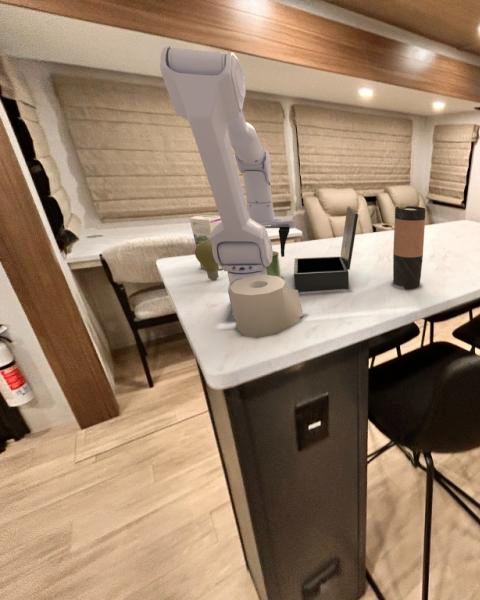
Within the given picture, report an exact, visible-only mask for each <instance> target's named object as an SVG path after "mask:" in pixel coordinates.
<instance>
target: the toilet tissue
mask: <svg viewBox="0 0 480 600" xmlns="http://www.w3.org/2000/svg"><path fill="white" fill-rule="evenodd" d="M228 287H229V286H228ZM229 290H230V295H231V300H232V305H233V310H234V315H235V317H234V321H235V325H236V330H238V332H239V333H240V334H241V335H242V336H248V337H253V338H260V337H266V336H271V335H272V336H273V335H276V334H278V333H280V332H282V331H284V330H286V329H287V328H289V327H290V328H291V326H293V325H295V324H298V323H299V322H300V321H301V320H302V319H303V318H304V315H302V314H303V313H304V311H303V306H302V302H301V297H300V294H299V293H300V292H298V290H295V288H289V287H288V288H287V281H286V280H284V278H282V277H278V276H271V275H258V276H249V277H247V278H242V279H239V280H236V281H235V282H234V283H233V284H232V285H231V286H230V287H229ZM301 315H302V316H301Z"/></svg>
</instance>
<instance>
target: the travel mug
mask: <svg viewBox="0 0 480 600" xmlns="http://www.w3.org/2000/svg"><path fill="white" fill-rule="evenodd" d="M394 207H395V208H394V227H393V228H394V229H393V250H392V252H393V253H392V255H393V256H392V259H393V260H392V263H393V264H392V265H393V266H392V269H393V271H392V275H393V276H392V277H393V279H392V281H393V282H392V283H393V284H394V285H396V286H398V287H401V288H403V289H404V290H415V289H418V288H419V287H420V286H421V278H422V277H421V276H422V267H423V260H424V259H423V258H424V243H425V227H426V208H425V207H421V206H414V205H408V206H406V207H404V208H400V207H399V206H394Z"/></svg>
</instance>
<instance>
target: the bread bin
mask: <svg viewBox="0 0 480 600" xmlns="http://www.w3.org/2000/svg"><path fill="white" fill-rule="evenodd" d="M293 280H294V289H295V290H298V293H306V292H307V293H308V292H323V291H337V290H338V291H339V290H349V289H350V283H349V282H350V281H349V270H347V268H346V266H345V264H344V262H343V259H342V257H341V256H321V257H319V256H316V257H295V258H294V266H293Z"/></svg>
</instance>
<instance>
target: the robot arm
mask: <svg viewBox="0 0 480 600" xmlns="http://www.w3.org/2000/svg"><path fill="white" fill-rule="evenodd" d="M159 58H160V63H159V68H160V73H161V77H162V79H163V82H164V85H165V88H166V90H167V93H168V97H169V100H170V102H171V104H172V106H173V109H174V111H175V113H176V115H178V116H179V117H181V118H183V119H184V120H185V121H188V124H189V127H190V130H191V132H192V135H193V138H194V141H195V144H196V148H197V150H198V153H199V156H200V161H201V163H202V166H203V169H204V171H205V174H206V178H207V181H208V184H209V187H210V190H211V194H212V196H213V200H214V202H215V205H216V208H217V209H216V210H217V211H218V216H220V218H221V221H222V222H221V223H220V224H218V225H217V226H216V227H215V228H214V229H213V231H212V233H211V237H210V240H211V244H212V251H213V256H214V259H215V261H216V263H217V264H218V265H219V266H220V267H223V268H222V270H223V272H227V276H228V282H229V285H228V288H227V293H228V299H229V303H230V309H231V313H232V317H233V318H235V315H234V310H233V305H232V300H231V295H230V290H229V287H230V286H231V285H232V284H233V283H234V282H235V281H236V280H239V279H242V278H247V277H249V276H258V275H267V271H266V266H269V265H270V264H271V262H272V257H273V251H274V250H273V245H272V244H273V243H272V241H271V238H270V237H269V234H268V231H267V229H278V236H279V243H280V257H281V258H284V257H285V250H286V249H285V248H286V242H287V241H288V240H287V239H288V236H289V233H290V230H291V229H294V228H295V226H294V225H295V224H294V219H280V218H275V212H274V204H273V202H274V201H273V194H272V187H271V182H272V160H271V156H270V152H269V151H268V150H265V148H264V147H263V146H262V143H261V141H260V138H259V136H258V134H257V132H256V129H255V127H254V126H253V125H252V124H250V123H249V122H247V121H246V117H245V114H244V111H243V107H244V103H245V98H246V95H247V94H246V93H247V90H246V89H247V88H246V80H245V74H244V70H243V67H242V64H241V61H240V60H239V58H238V57H237V56H236V55H235V53H234V52H232V51H227V52H221V51H210V50H202V49H201V50H200V49H193V48H192V49H190V48H182V47H173V46H172V45H171V46H170V45H165V46H163V47H162V49H161V53H160V57H159ZM238 170H239V171H238ZM239 172H240V173H241V174H242V179H243V184H244V190H243V186H242V182H241V178H240V174H239ZM244 192H245V194H244Z"/></svg>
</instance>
